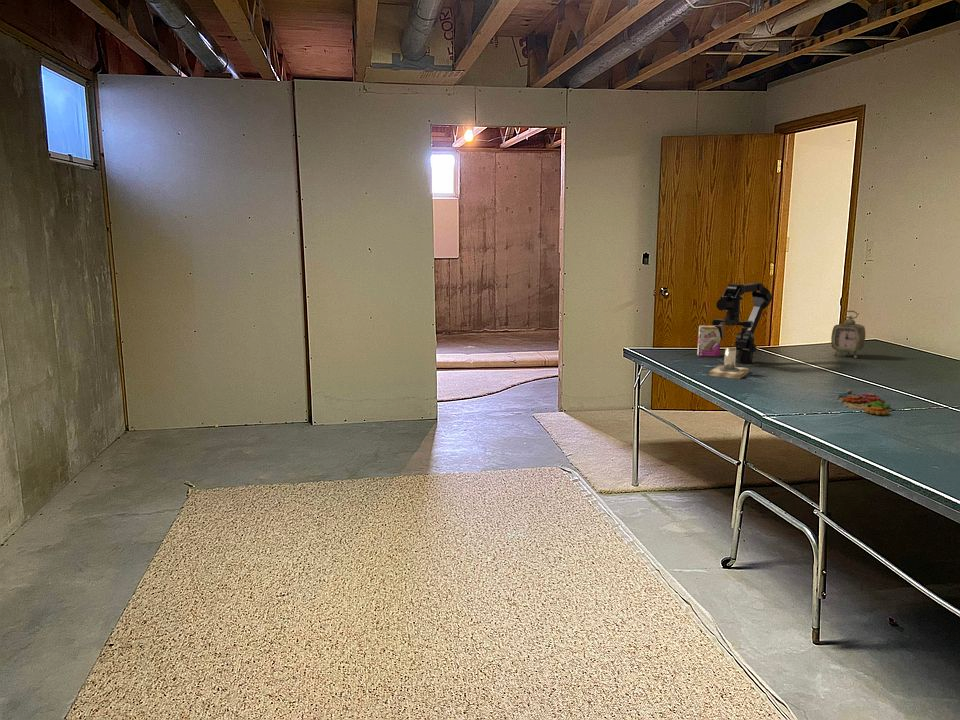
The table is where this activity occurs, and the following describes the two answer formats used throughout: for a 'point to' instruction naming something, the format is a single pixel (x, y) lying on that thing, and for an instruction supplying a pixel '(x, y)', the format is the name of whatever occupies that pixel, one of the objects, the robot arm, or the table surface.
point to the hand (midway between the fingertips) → (731, 340)
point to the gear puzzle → (864, 402)
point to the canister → (729, 358)
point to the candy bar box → (708, 341)
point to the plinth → (729, 372)
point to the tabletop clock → (848, 336)
